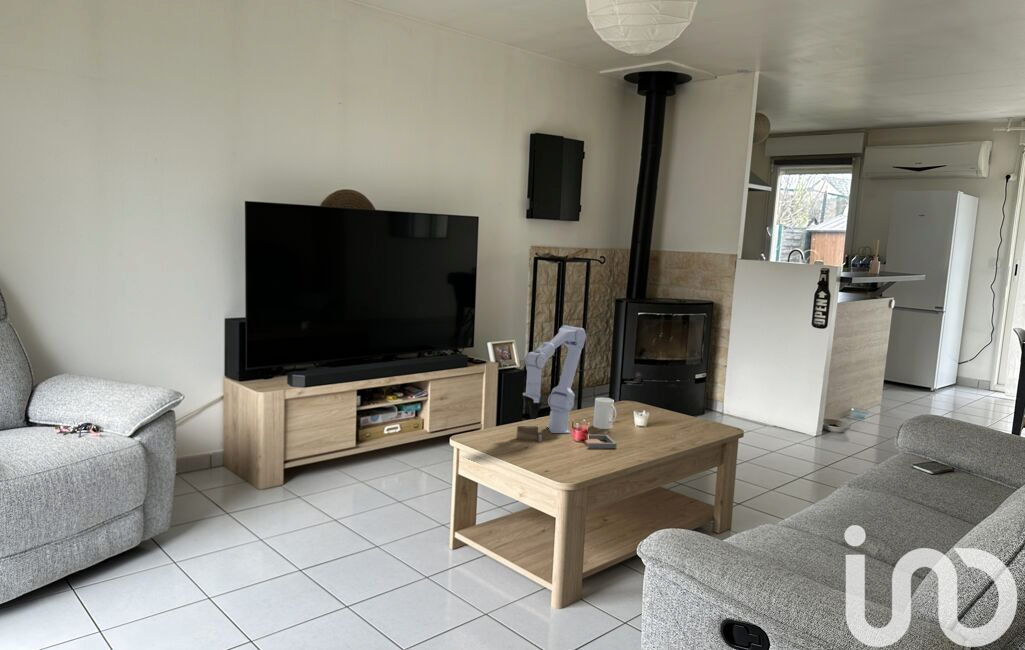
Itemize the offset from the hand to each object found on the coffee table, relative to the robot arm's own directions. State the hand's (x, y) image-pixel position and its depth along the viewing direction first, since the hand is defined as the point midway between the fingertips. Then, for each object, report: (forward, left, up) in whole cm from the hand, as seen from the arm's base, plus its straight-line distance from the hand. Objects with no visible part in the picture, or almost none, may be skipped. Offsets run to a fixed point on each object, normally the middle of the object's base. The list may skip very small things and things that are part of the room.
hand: (531, 416), depth 283 cm
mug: (-18, +37, -9) cm, 42 cm away
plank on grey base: (0, -1, -9) cm, 9 cm away
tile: (+6, +24, -10) cm, 27 cm away
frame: (+6, +26, -9) cm, 28 cm away
